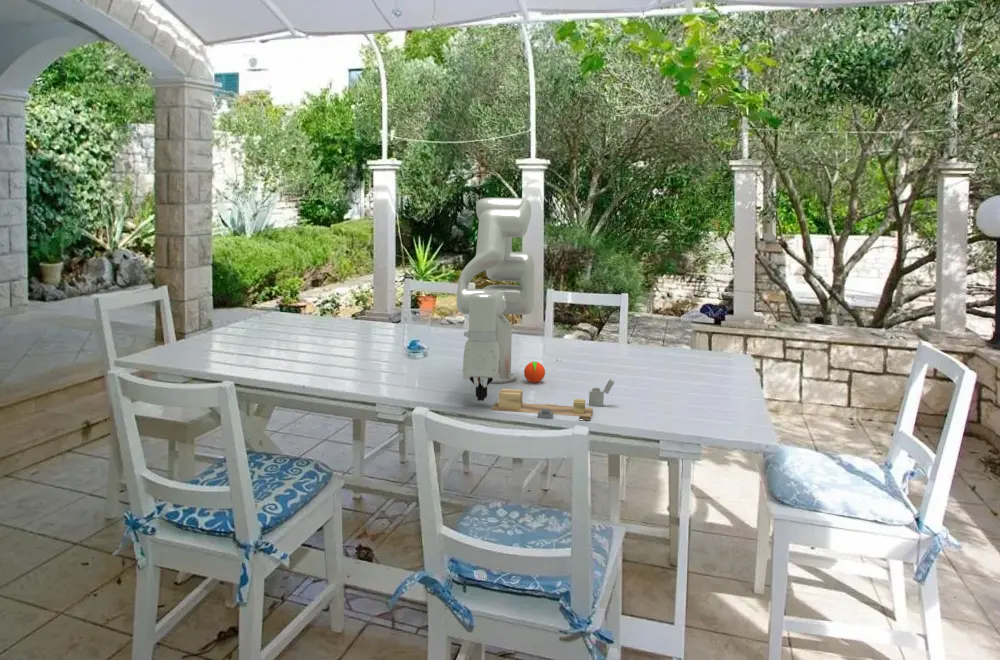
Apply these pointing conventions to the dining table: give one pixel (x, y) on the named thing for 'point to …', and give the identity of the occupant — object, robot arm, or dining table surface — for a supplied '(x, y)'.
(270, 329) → the dining table surface
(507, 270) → the robot arm
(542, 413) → the fulcrum marker
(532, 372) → the clementine
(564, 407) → the beam
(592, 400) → the lighter
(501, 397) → the block
